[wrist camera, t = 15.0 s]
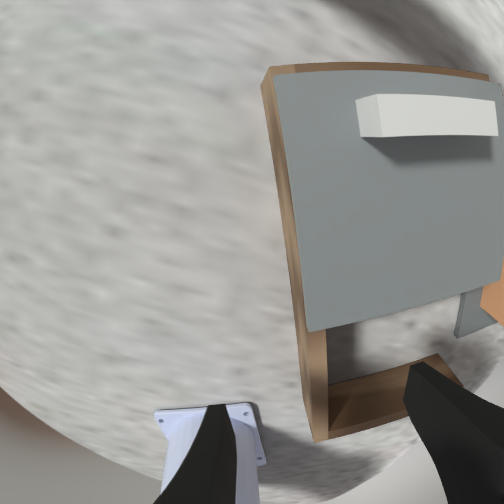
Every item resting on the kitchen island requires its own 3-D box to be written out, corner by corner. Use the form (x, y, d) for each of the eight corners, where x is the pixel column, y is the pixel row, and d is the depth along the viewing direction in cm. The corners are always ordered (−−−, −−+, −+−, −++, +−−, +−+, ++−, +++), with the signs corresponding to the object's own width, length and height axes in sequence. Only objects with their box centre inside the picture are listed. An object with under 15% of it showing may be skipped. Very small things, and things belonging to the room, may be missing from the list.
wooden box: (435, 362, 23) (460, 394, 18) (303, 399, 23) (313, 442, 18) (443, 82, 15) (488, 75, 11) (260, 85, 15) (269, 66, 11)
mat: (512, 310, 22) (516, 313, 21) (454, 334, 22) (457, 338, 21) (527, 219, 19) (532, 221, 18) (467, 232, 19) (472, 234, 18)
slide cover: (494, 276, 15) (521, 294, 12) (306, 325, 15) (318, 358, 12) (493, 84, 11) (526, 82, 8) (272, 78, 11) (282, 62, 8)
